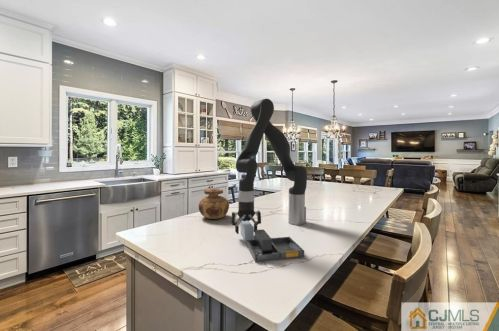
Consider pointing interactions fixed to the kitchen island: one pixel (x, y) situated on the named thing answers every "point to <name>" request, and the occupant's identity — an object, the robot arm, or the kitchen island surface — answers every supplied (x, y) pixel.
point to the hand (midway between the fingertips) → (246, 232)
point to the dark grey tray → (273, 247)
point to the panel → (247, 231)
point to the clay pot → (213, 204)
